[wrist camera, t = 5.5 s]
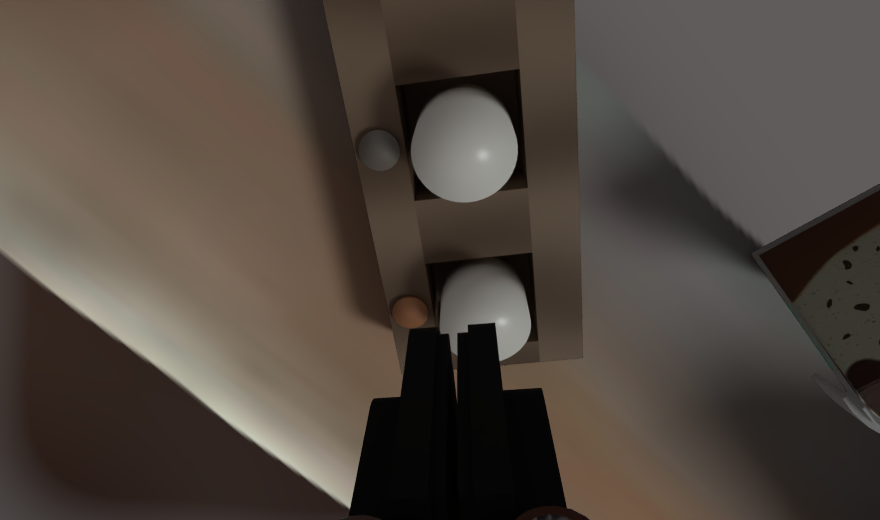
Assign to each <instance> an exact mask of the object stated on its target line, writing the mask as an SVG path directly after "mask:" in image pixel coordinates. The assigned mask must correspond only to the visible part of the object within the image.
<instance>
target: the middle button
mask: <svg viewBox="0 0 880 520" xmlns="http://www.w3.org/2000/svg"><path fill="white" fill-rule="evenodd" d="M517 155H518V144H517V138H516V135H515V131H514V128H513V125H512V122H511V119H510V116H509V113H508V111H507V109H506V107H505V106H504V104H503V103H502V101H501V100H500V99H499V98H498V97H497V96H496V95H495V94H494V93H492V92H491V91H489V90H487V89H486V88H484V87H481V86H478V85H473V84H456V85H451V86H448V87H445V88H443V89H441V90H440V91H438V92H437V93H435V94H434V95H433V96H432V97H431V98H430V99H429V100H428V101H427V102H426V103H425V105H424V106H423V108H422V110H421V112H420V114H419V117H418V121H417V124H416V128H415V131H414V135H413V138H412V144H411V158H412V163H413V167H414V169H415V172H416V174H417V176H418V178H419V179H420V180H421V182H422V183H423V184H424V185H425V186H426V188H428V189H429V190H430V191H431V192H432V193H434V194H436V195H437V196H439V197H441V198H443V199H446V200H449V201H454V202H463V203H465V202H474V201H478V200H482V199H484V198H487V197H489V196H491V195H492V194H494V193H496V192H497V191H498V190H499V189H501V188H502V187H503V185H504V184H505V183H506V182H507V181H508V179H509V178H510V176H511V174H512V173H513V170H514V168H515V165H516V161H517Z"/></svg>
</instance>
